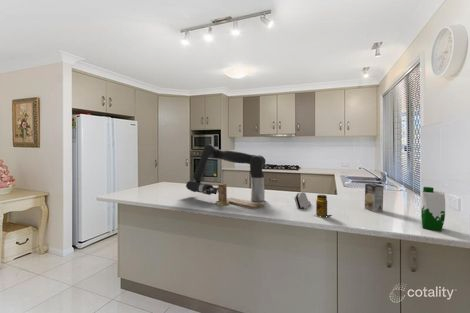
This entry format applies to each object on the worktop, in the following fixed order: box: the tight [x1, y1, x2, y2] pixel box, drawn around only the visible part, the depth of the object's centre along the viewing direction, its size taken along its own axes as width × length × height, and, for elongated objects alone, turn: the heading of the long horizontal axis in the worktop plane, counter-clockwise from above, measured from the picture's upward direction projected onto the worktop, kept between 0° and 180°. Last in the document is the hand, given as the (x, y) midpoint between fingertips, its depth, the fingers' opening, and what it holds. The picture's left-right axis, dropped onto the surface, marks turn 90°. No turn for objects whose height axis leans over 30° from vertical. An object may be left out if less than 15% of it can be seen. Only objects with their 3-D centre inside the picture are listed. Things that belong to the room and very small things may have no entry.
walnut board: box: [227, 197, 264, 210], centre depth 174 cm, size 10×30×2 cm, turn 46°
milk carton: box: [421, 186, 446, 233], centre depth 123 cm, size 9×9×20 cm
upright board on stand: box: [215, 183, 230, 207], centre depth 173 cm, size 6×7×14 cm
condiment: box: [315, 194, 328, 218], centre depth 146 cm, size 7×8×12 cm
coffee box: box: [364, 183, 385, 213], centre depth 157 cm, size 9×6×16 cm
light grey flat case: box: [294, 191, 312, 210], centre depth 169 cm, size 17×5×10 cm, turn 150°
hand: (220, 191), depth 174 cm, fingers open, 8 cm apart
